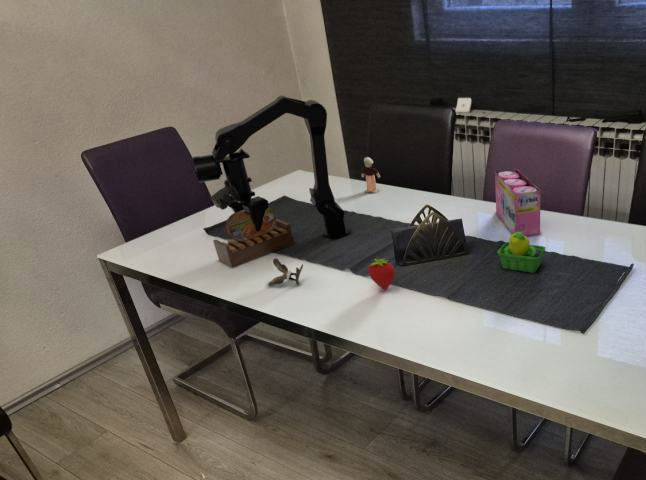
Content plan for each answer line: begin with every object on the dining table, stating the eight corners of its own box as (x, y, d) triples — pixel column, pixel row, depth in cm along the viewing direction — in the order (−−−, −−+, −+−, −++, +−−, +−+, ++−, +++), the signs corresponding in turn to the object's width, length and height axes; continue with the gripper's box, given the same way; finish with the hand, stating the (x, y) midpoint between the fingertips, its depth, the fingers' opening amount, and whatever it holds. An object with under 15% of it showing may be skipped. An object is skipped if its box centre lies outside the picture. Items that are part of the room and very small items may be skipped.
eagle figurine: (307, 271, 165) (276, 265, 166) (300, 258, 158) (268, 251, 159) (298, 295, 162) (266, 289, 163) (290, 283, 155) (258, 276, 156)
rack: (294, 243, 185) (289, 223, 182) (232, 267, 173) (225, 247, 170) (280, 237, 190) (275, 218, 187) (219, 260, 178) (212, 240, 175)
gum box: (494, 211, 197) (492, 170, 190) (517, 208, 198) (516, 167, 191) (515, 238, 177) (514, 193, 170) (541, 234, 178) (541, 190, 171)
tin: (234, 245, 174) (226, 217, 170) (229, 242, 176) (221, 215, 171) (279, 229, 183) (272, 202, 178) (274, 226, 185) (267, 200, 180)
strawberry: (386, 298, 151) (381, 262, 146) (366, 291, 155) (360, 255, 150) (402, 289, 155) (398, 253, 149) (382, 282, 159) (377, 247, 153)
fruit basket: (546, 263, 162) (547, 224, 155) (535, 278, 155) (536, 237, 149) (506, 258, 166) (506, 219, 160) (495, 272, 159) (493, 232, 153)
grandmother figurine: (361, 193, 221) (355, 159, 215) (364, 190, 225) (359, 155, 218) (381, 193, 220) (376, 158, 213) (384, 189, 223) (379, 155, 216)
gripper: (194, 177, 170) (211, 229, 178) (226, 189, 159) (241, 244, 167) (230, 167, 176) (244, 218, 185) (263, 178, 165) (276, 231, 173)
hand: (250, 227), depth 177 cm, fingers open, 8 cm apart
